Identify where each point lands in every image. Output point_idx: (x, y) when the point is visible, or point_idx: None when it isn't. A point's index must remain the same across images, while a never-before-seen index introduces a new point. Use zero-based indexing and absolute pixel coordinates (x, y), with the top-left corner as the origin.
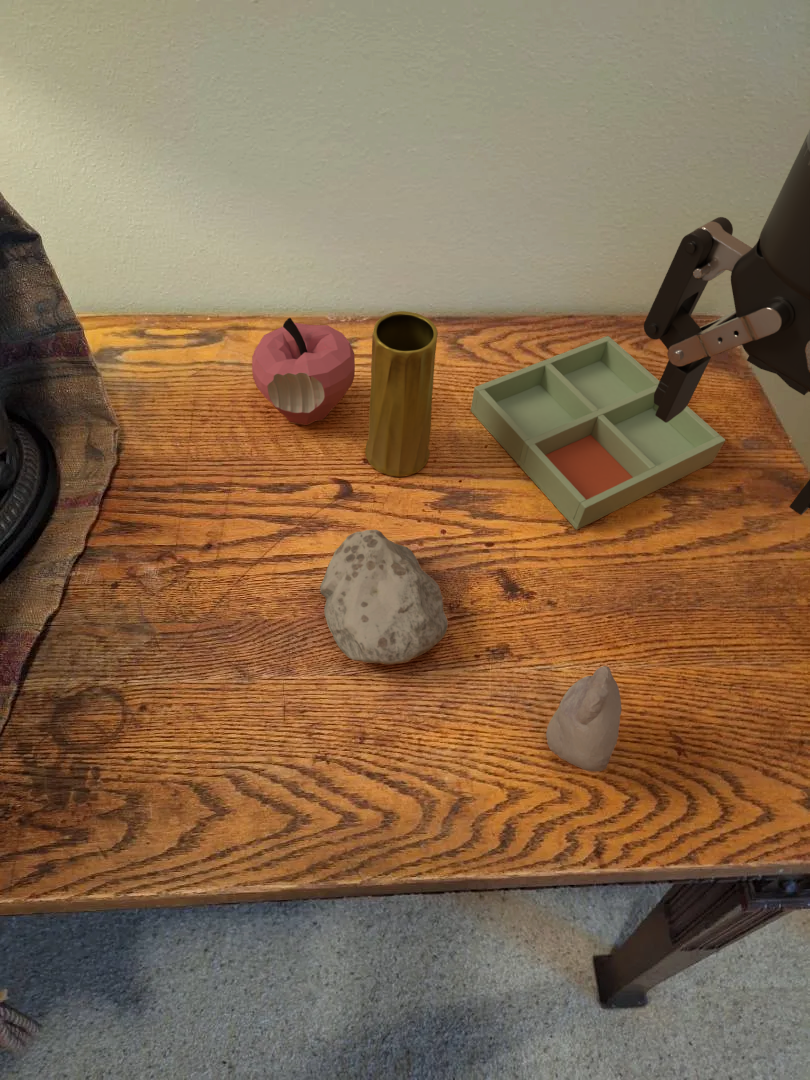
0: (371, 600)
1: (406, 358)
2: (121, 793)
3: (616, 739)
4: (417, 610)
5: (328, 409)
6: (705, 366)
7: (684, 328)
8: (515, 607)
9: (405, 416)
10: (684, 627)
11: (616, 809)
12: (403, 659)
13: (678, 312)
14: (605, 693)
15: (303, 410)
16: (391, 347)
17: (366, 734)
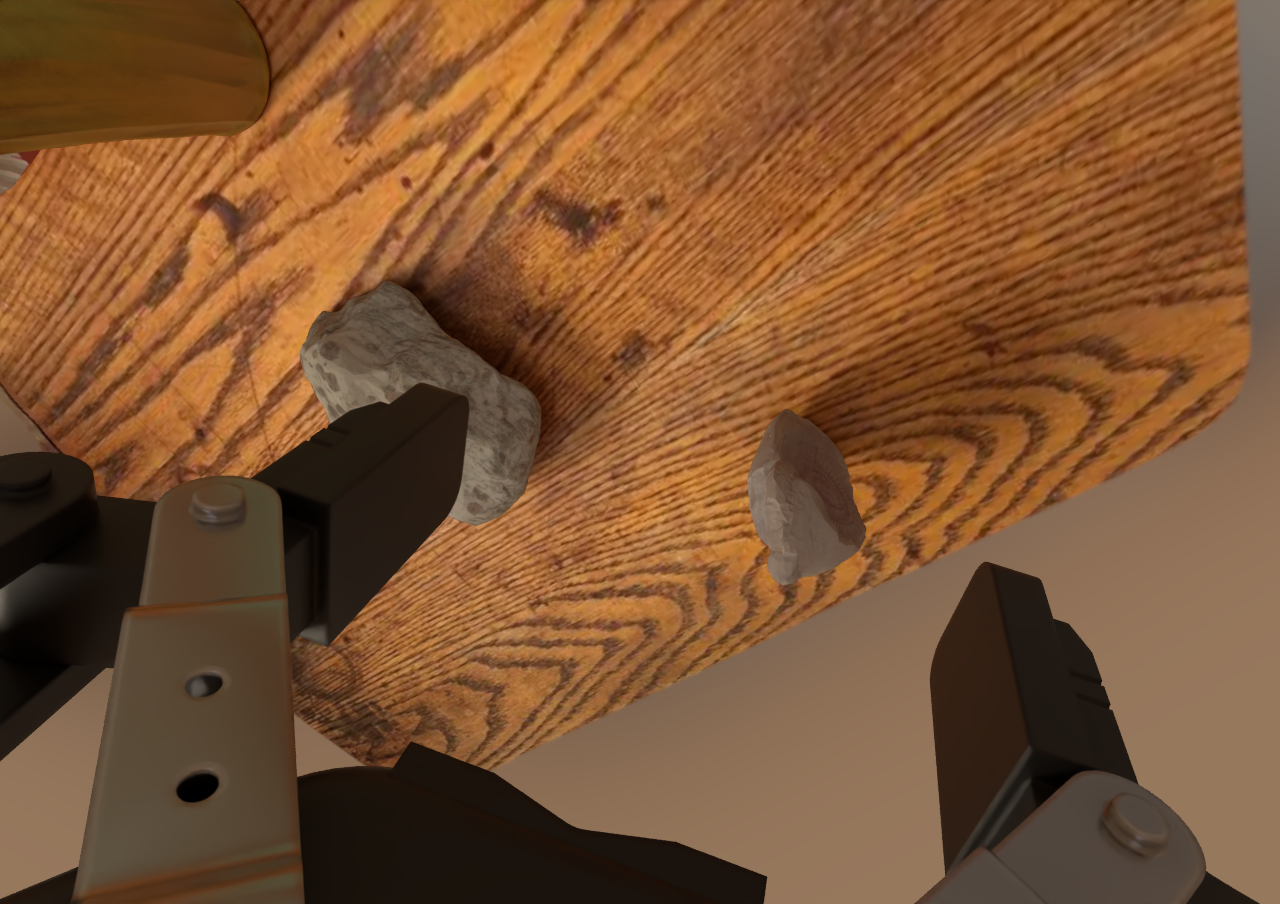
0: None
1: None
2: (409, 711)
3: (853, 550)
4: (474, 442)
5: None
6: (356, 489)
7: (117, 633)
8: (606, 254)
9: (119, 123)
10: (925, 72)
11: (917, 488)
12: (517, 499)
13: (19, 592)
14: (792, 563)
15: (18, 170)
16: None
17: (558, 556)
